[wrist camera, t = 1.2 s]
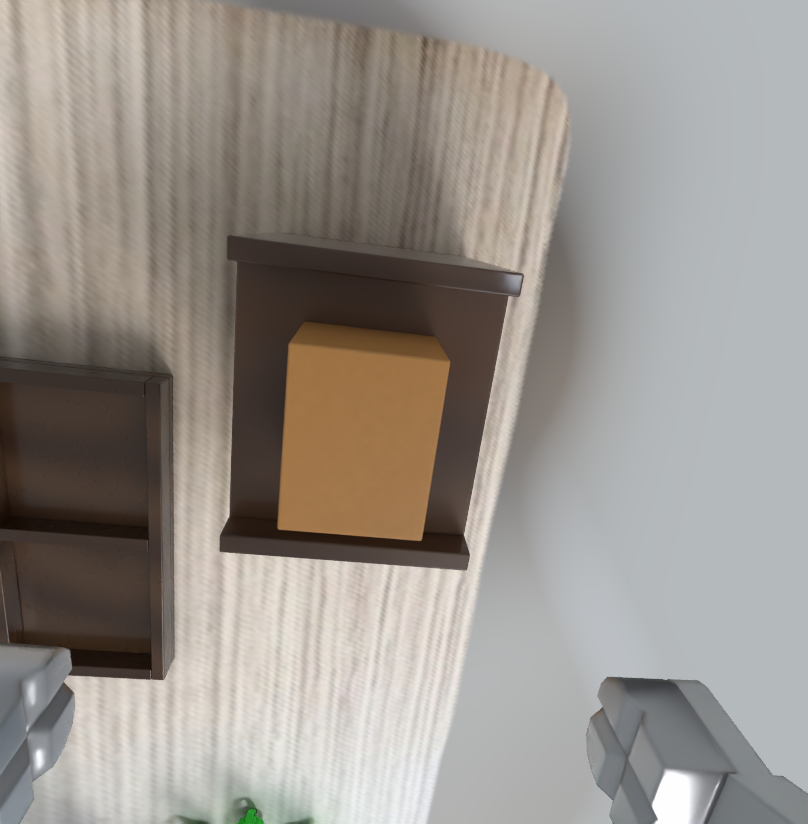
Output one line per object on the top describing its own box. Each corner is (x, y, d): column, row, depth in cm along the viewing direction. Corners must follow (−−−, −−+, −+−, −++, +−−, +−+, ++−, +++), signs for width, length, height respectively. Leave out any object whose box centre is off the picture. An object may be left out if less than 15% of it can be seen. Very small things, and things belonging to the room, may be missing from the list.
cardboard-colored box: (303, 320, 20) (288, 341, 16) (436, 336, 20) (451, 360, 17) (292, 479, 22) (276, 531, 18) (413, 490, 23) (422, 543, 19)
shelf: (-16, 354, 29) (-42, 363, 28) (172, 374, 30) (159, 384, 29) (19, 648, 36) (-1, 672, 34) (174, 657, 37) (164, 680, 35)
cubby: (281, 232, 28) (226, 234, 17) (467, 257, 29) (524, 274, 18) (270, 443, 32) (219, 552, 21) (435, 458, 33) (467, 571, 22)
